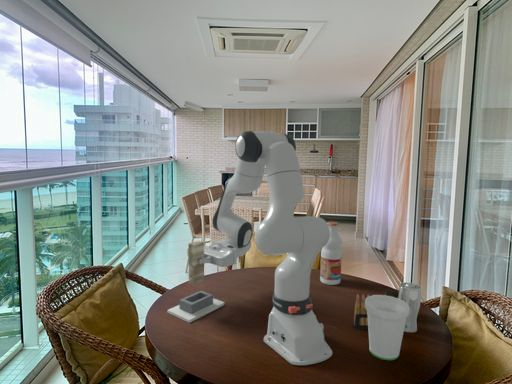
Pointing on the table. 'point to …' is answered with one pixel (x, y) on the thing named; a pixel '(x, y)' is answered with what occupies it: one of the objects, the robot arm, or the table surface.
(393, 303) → the cup
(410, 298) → the beer glass
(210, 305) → the stand
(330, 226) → the fruit juice
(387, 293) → the dark grey rounded lump
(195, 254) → the slat
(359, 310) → the ammunition clip
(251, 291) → the table surface
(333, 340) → the table surface
